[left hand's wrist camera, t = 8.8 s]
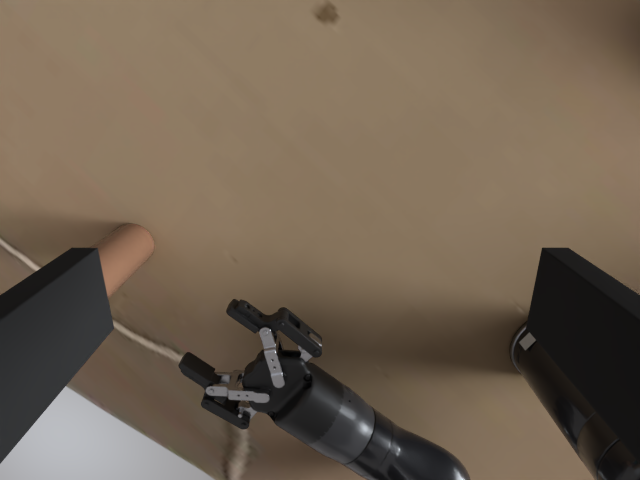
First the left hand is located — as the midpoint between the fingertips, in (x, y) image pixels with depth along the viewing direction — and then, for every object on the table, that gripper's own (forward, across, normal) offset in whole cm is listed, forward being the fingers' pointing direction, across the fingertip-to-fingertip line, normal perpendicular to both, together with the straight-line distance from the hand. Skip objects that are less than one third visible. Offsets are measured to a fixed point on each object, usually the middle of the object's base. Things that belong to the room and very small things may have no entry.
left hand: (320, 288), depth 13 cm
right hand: (+26, -12, -18) cm, 34 cm away
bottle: (+32, -21, -11) cm, 40 cm away
